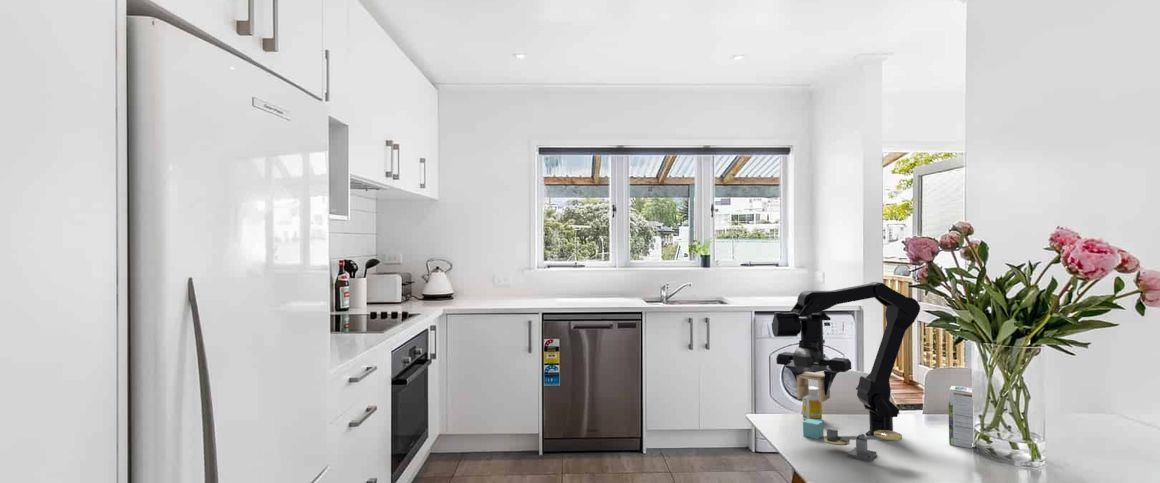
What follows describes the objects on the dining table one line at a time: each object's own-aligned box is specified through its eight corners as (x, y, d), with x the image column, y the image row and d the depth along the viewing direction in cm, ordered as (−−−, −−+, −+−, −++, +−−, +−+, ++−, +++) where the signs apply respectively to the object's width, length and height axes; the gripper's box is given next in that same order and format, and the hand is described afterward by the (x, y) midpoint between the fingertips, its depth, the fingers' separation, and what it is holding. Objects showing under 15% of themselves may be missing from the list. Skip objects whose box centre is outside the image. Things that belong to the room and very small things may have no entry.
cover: (806, 394, 159) (805, 371, 159) (830, 397, 154) (829, 374, 154) (797, 398, 154) (796, 375, 154) (821, 402, 150) (820, 378, 150)
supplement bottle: (799, 419, 170) (798, 387, 170) (808, 415, 173) (807, 384, 173) (816, 423, 165) (815, 390, 166) (825, 419, 169) (824, 387, 169)
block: (809, 432, 157) (808, 418, 157) (823, 435, 154) (823, 421, 154) (803, 436, 154) (802, 421, 154) (817, 439, 151) (817, 424, 151)
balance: (829, 444, 146) (828, 419, 147) (906, 461, 134) (905, 433, 134) (820, 450, 142) (819, 424, 142) (899, 468, 130) (898, 439, 130)
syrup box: (951, 439, 149) (949, 385, 150) (978, 443, 146) (976, 388, 146) (949, 445, 145) (947, 389, 145) (976, 449, 141) (974, 392, 141)
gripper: (767, 336, 155) (768, 393, 155) (836, 343, 142) (838, 404, 142) (784, 332, 163) (785, 385, 163) (851, 338, 150) (852, 395, 150)
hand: (813, 392), depth 154 cm, fingers closed on cover, 6 cm apart
